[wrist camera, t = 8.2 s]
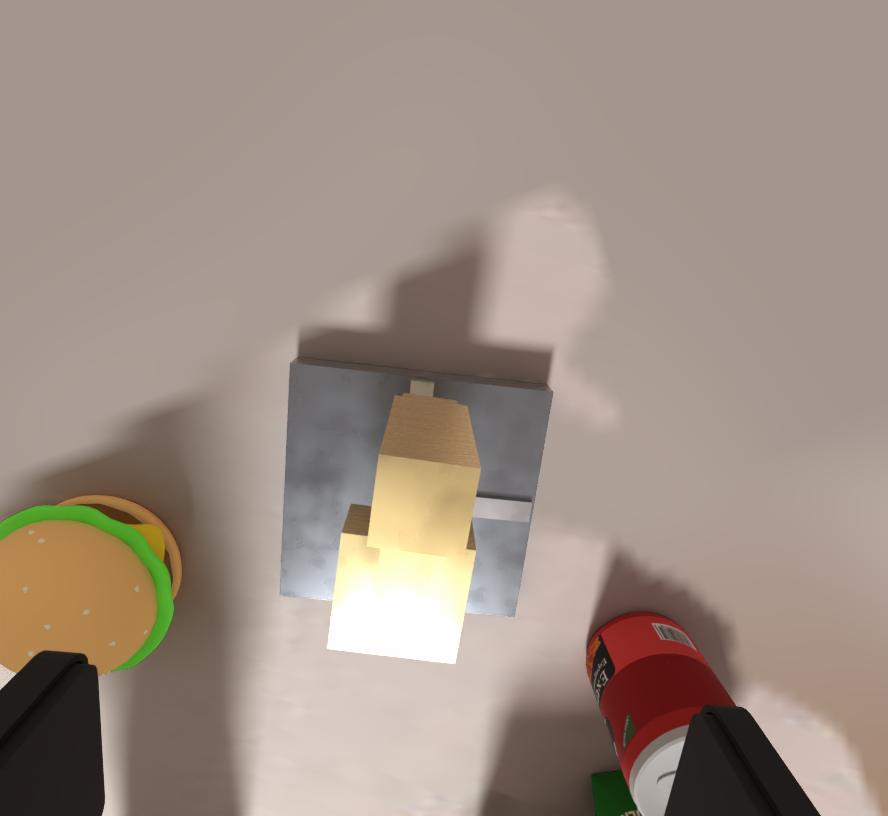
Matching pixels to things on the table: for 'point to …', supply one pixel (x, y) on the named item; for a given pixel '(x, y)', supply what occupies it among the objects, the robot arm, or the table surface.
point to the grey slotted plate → (356, 457)
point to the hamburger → (86, 582)
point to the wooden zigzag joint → (411, 538)
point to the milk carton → (612, 795)
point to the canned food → (649, 698)
